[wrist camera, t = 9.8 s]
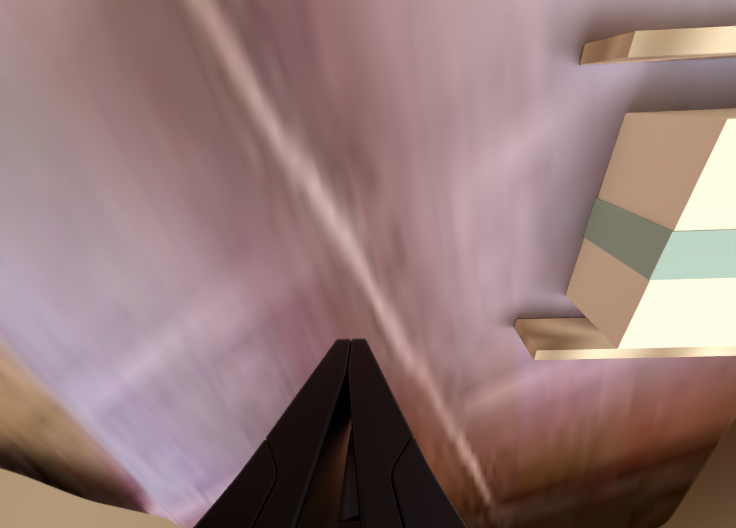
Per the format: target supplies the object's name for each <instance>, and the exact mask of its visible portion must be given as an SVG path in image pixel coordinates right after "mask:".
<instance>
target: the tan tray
mask: <svg viewBox="0 0 736 528" xmlns="http://www.w3.org/2000/svg"><path fill="white" fill-rule="evenodd" d="M715 58H736V26H725V27H705V28H685V29H665V30H645V31H633V32H630V33H626V34H622V35H618V36H614V37H610V38H606V39H602V40H598V41H594V42H590V43H586V44H585V45H584V49H583V53H582V57H581V61H580V65H587V64H608V63H630V62H651V61H672V60H693V59H715ZM514 329H515V330H516V332H517V333H518V335H519V337H520V338H521V340H522V341H523V343H524V345H525V346H526V348H527V349H528V351H529V353H530V354H531V356H532V357H533V359H534V360H555V359H601V358H647V357H694V356H736V346H717V347H673V348H629V349H617V348H616V347H615V346H614V345H613V344H612V343H611V342H610V341H609V340H608V339H607V338H606V337H605V336H604V335H603V334H602V332H601V331H600V330H599V329H598V328H597V327H596V326H595V325H594V324H593V323H592V322H591V321H590V320H589V319H588V318H549V319H516V323H515V327H514Z"/></svg>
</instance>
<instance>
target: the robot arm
mask: <svg viewBox="0 0 736 528" xmlns="http://www.w3.org/2000/svg"><path fill="white" fill-rule="evenodd" d="M351 423H352V431H350V429H351ZM193 528H467V526H466V525H465V523H464V522H463V520H462V519H461V517H460V516H459V514H458V512H457V511H456V509H455V508H454V506H453V505H452V503H451V502H450V500H449V499H448V497H447V495H446V494H445V492H444V490H443V489H442V487H441V485H440V484H439V482H438V480H437V479H436V477H435V475H434V474H433V472H432V470H431V468H430V466H429V464H428V462H427V461H426V459H425V457H424V455H423V453H422V451H421V449H420V447H419V445H418V443H417V441H416V439H415V438H413V433H412V431H411V429H410V427H409V425H408V423H407V421H406V419H405V417H404V415H403V413H402V411H401V409H400V407H399V405H398V403H397V401H396V399H395V397H394V395H393V393H392V391H391V389H390V387H389V385H388V383H387V381H386V378H385V376H384V374H383V372H382V370H381V368H380V366H379V364H378V362H377V360H376V358H375V356H374V354H373V352H372V350H371V348H370V346H369V344H368V342H367V340H366V339H364V338H359V339H352V341H351V340H350V339H337V340H336V341H335V342H334V344H333V345H332V347H331V348H330V349H329V351H328V352H327V354H326V355H325V356H324V358H323V359H322V360H321V362H320V363H319V365H318V366H317V367H316V369H315V370H314V372H313V373H312V374H311V376H310V377H309V378H308V380H307V381H306V383H305V384H304V385H303V387H302V388H301V390H300V391H299V392H298V394H297V395H296V396H295V398H294V399H293V401H292V402H291V403H290V405H289V406H288V408H287V409H286V410H285V412H284V413H283V414H282V416H281V417H280V419H279V420H278V421H277V423H276V424H275V426H274V427H273V428H272V430H271V431H270V432H269V434H268V435H267V437H266V440H264V441H263V442H262V443H261V445H260V446H259V448H258V449H257V450H256V452H255V453H254V454H253V456H252V457H251V458H250V460H249V461H248V462H247V464H246V465H245V466H244V468H243V469H242V470H241V472H240V473H239V474H238V476H237V477H236V478H235V479H234V480H233V482H232V483H231V484H230V485H229V486H228V488H227V489H226V490H225V491H224V492H223V494H222V495H221V496H220V497H219V498H218V500H217V501H216V502H215V503H214V504H213V505H212V506H211V508H210V509H209V510H208V511H207V512H206V513H205V515H204V516H203V517H202V518H201V519H200V520H199V521H198V523H197V524H196V525H195V526H194V527H193Z"/></svg>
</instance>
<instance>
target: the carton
mask: <svg viewBox="0 0 736 528" xmlns="http://www.w3.org/2000/svg"><path fill="white" fill-rule="evenodd" d="M583 237H584V240H583V243H582V247H581V250H580V253H579V256H578V259H577V262H576V265H575V268H574V271H573V274H572V277H571V280H570V283H569V286H568V289H567V292H566V295H565V296H566V297H567V298H568V299H569V300H570V301H571V302H572V303H573V304H574V305H575V306H576V307H577V308H578V309H579V310H580V311H581V312H582V313H583V314H584V315H585V316H586V317H587V318H588V319H589V320H590V321H591V322H592V323H593V324H594V325H595V326H596V327H597V328H598V329H599V330H600V331H601V332H602V334H603V335H604V336H605V337H606V338H607V339H608V340H609V341H610V342H611V343H612V344H613V345H614V346H615V347H616V348H617V349H629V348H673V347H717V346H736V108H729V109H706V110H683V111H659V112H636V113H625V116H624V119H623V123H622V126H621V129H620V132H619V135H618V138H617V141H616V144H615V147H614V150H613V153H612V156H611V159H610V162H609V165H608V168H607V171H606V174H605V177H604V180H603V183H602V186H601V189H600V192H599V195H598V198H596V199H595V202H594V205H593V208H592V211H591V214H590V217H589V220H588V223H587V226H586V229H585V232H584V235H583Z"/></svg>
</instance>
